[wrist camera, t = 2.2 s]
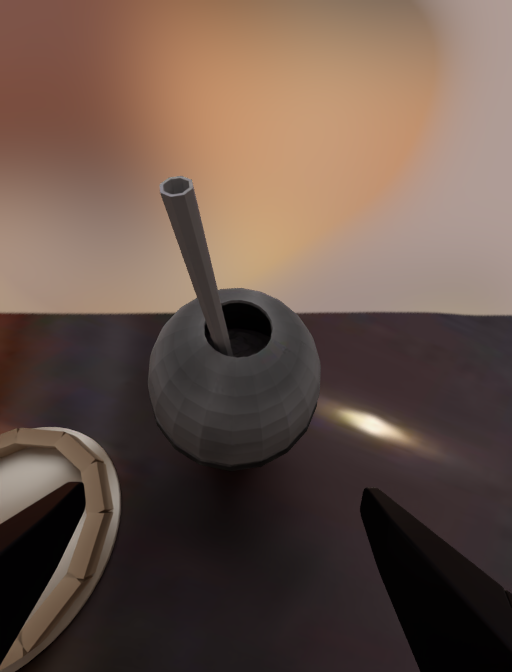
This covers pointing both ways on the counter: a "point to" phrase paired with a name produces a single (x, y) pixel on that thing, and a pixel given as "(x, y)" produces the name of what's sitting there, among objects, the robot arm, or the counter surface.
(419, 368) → the counter surface
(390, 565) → the robot arm
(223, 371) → the beverage cup
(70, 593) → the ring holder
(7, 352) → the counter surface
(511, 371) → the counter surface
